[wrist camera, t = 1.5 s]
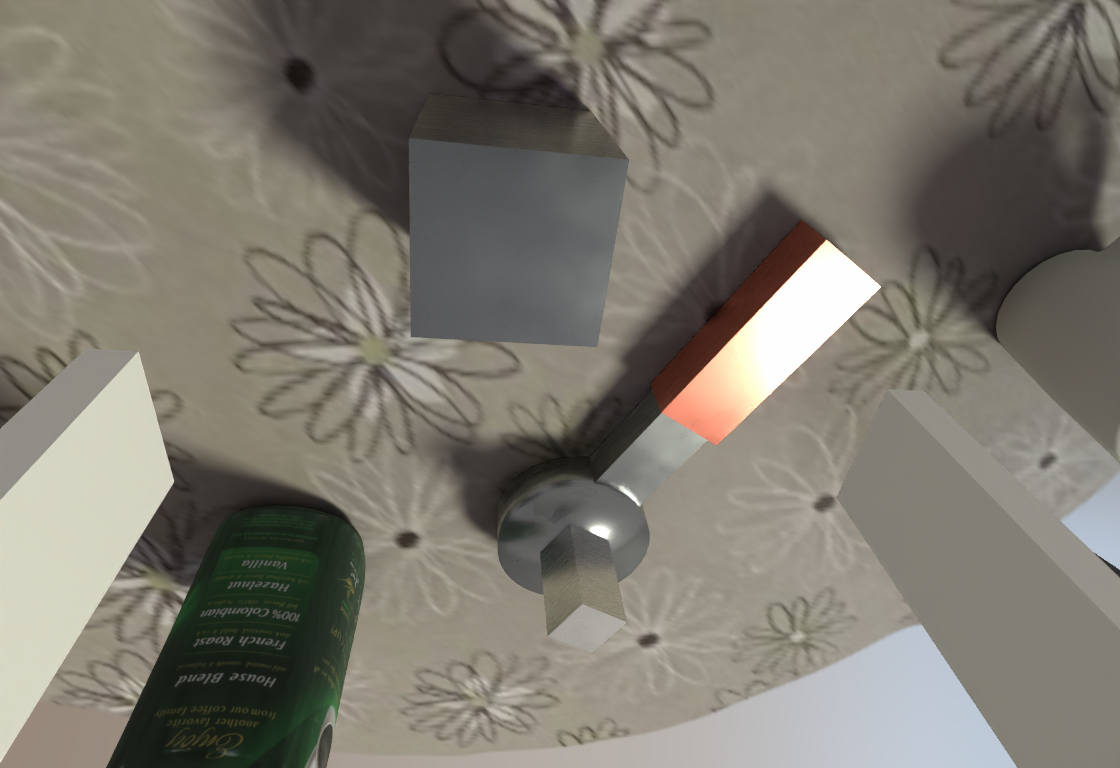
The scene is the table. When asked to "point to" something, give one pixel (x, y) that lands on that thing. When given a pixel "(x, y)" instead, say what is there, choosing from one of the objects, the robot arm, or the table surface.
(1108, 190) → the table surface
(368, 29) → the table surface
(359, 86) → the table surface
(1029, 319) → the cup
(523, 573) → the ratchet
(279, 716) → the coffee jar
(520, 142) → the grey rectangular block
